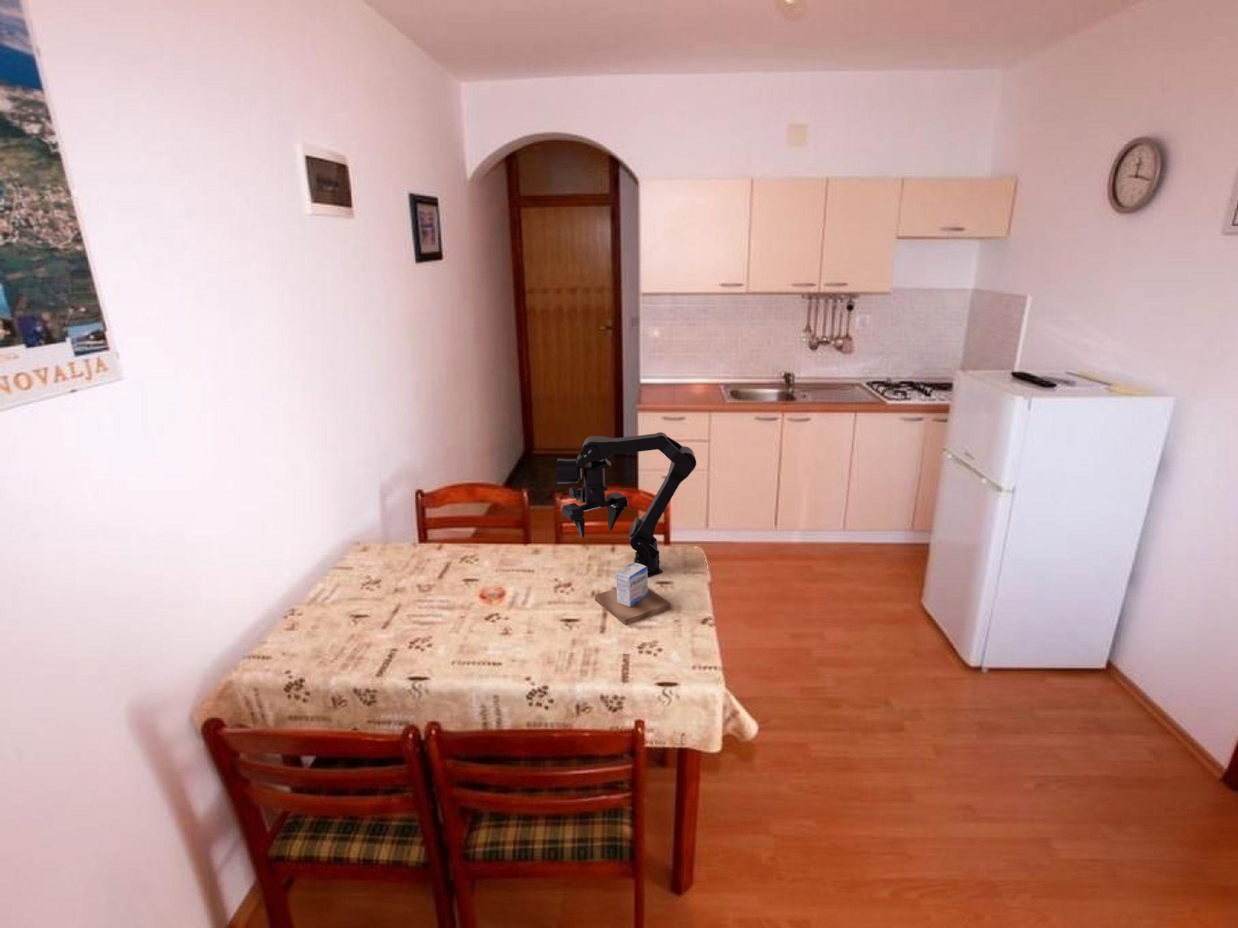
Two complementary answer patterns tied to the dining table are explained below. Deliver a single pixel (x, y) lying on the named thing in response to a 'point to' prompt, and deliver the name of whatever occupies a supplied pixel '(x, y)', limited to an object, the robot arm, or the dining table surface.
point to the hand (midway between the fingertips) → (596, 533)
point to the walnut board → (637, 611)
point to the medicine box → (632, 584)
